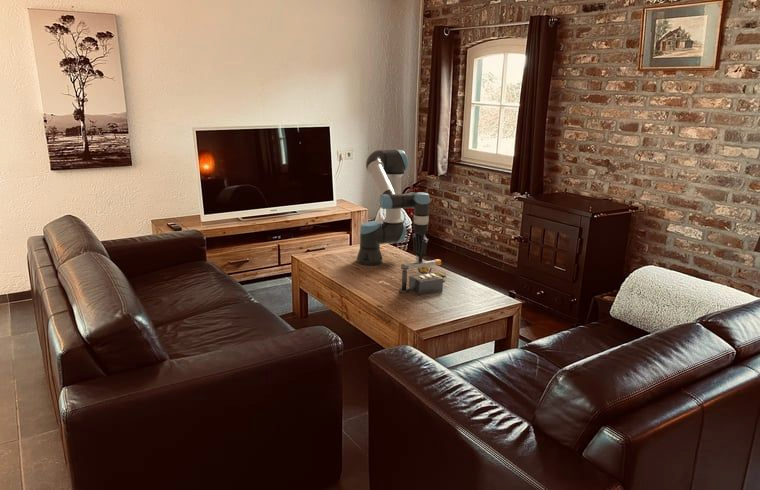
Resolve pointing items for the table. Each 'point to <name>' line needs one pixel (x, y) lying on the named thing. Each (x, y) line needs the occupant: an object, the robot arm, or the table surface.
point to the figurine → (425, 270)
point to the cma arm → (421, 264)
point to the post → (404, 282)
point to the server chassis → (425, 283)
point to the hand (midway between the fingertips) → (418, 267)
